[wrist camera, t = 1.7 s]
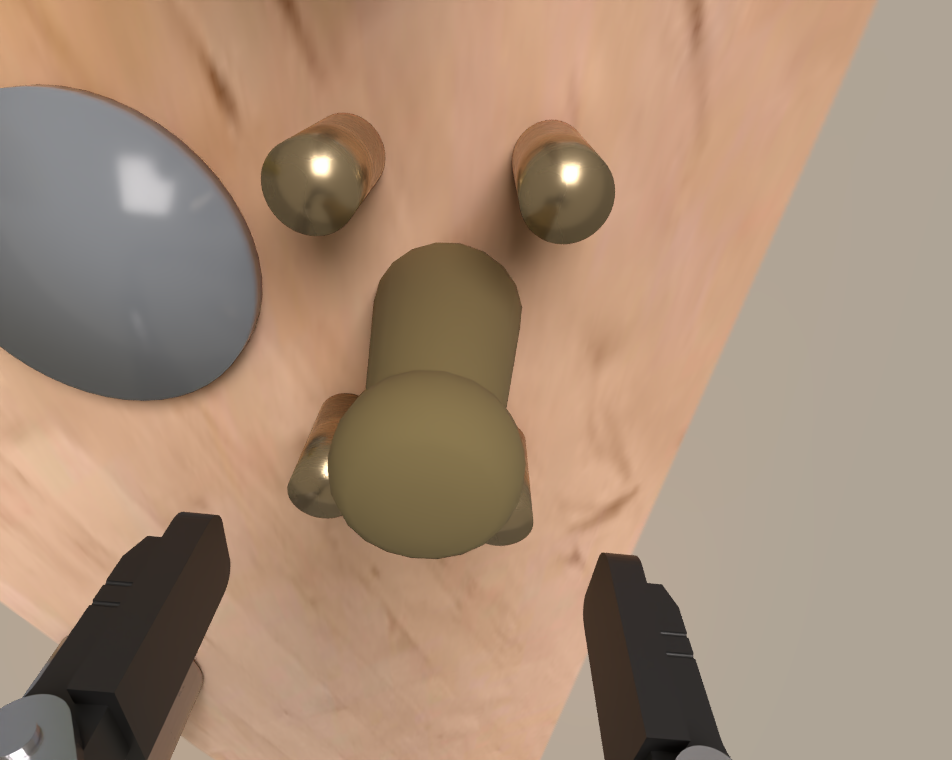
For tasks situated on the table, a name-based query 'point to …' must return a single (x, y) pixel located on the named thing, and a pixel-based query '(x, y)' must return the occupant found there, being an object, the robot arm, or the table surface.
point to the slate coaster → (117, 249)
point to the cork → (434, 409)
